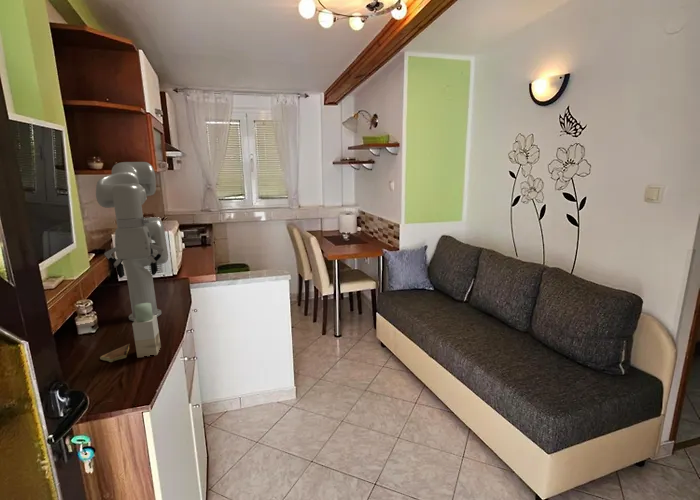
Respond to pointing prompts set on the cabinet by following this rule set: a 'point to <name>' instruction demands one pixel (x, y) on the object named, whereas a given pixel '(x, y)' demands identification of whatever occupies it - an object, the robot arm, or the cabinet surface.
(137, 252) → the robot arm
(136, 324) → the tower top
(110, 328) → the cabinet surface
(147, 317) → the green cylinder
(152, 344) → the tower base
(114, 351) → the shard
